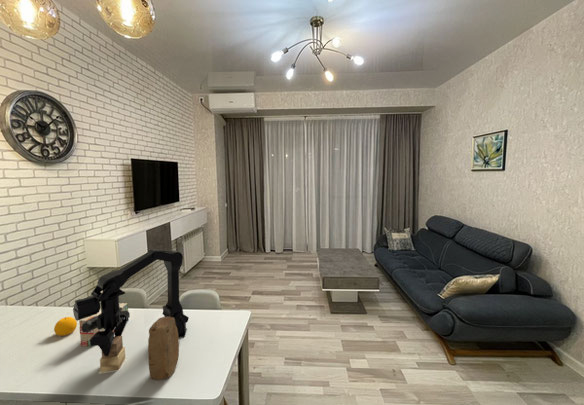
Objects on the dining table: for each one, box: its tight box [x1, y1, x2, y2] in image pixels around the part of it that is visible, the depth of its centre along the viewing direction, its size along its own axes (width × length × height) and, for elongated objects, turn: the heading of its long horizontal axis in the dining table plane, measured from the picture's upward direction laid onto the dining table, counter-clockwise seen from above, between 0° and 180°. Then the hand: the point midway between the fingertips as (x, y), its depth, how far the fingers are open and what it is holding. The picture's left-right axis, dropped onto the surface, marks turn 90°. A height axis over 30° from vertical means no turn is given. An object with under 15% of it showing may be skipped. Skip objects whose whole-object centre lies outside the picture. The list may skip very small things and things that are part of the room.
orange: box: [53, 316, 78, 337], centre depth 119 cm, size 8×8×8 cm
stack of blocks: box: [78, 302, 130, 347], centre depth 119 cm, size 21×6×12 cm, turn 177°
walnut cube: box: [101, 335, 124, 358], centre depth 97 cm, size 5×5×5 cm
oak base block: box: [99, 346, 126, 372], centre depth 98 cm, size 6×6×5 cm
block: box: [147, 316, 180, 381], centre depth 95 cm, size 11×8×20 cm
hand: (112, 347), depth 97 cm, fingers open, 9 cm apart
